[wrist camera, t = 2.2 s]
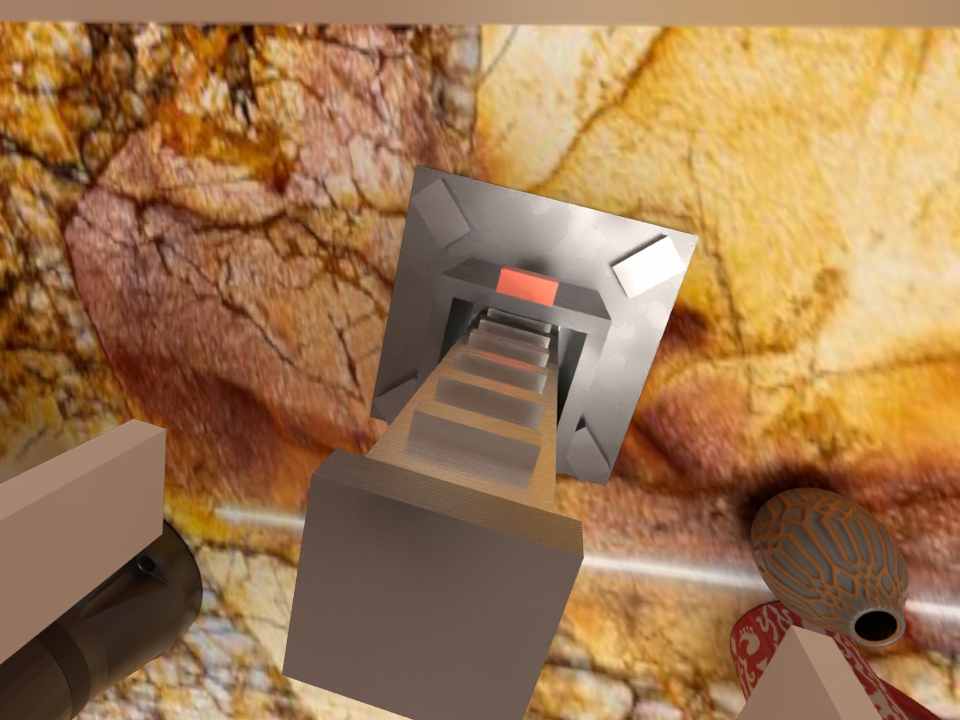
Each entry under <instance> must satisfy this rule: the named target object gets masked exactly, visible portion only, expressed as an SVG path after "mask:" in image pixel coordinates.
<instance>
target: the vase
mask: <svg viewBox="0 0 960 720" xmlns="http://www.w3.org/2000/svg"><path fill="white" fill-rule="evenodd" d="M751 548H752V553H753V557H754V560H755V563H756V565H757V568H758V570H759V572H760V574H761V576H762V578H763V580H764V581H765V583H766V584H767V586H768V587H769V589H770V590H771V591H772V592H773V594H774V595H775V596H776V597H777V598H778V599H779V600H780V601H781V602H782V603H783V604H784V605H785V606H786V607H787V608H788V609H790V610H791V611H792V612H793V613H795V614H796V615H797V616H799V617H800V618H802V619H803V620H805V621H807V622H809V623H811V624H813V625H815V626H817V627H820V628H822V629H825V630H828V631H832V632H835V633H839V634H843V635H846V636H848V637H849V638H851V639H852V640H854V641H855V642H857V643H859V644H861V645H863V646H867V647H874V648H877V647H884V646H888V645H891V644H893V643H894V642H896V641H897V640H899V639H900V638H901V636H902V635H903V633H904V631H905V619H904V615H903V609H904V606H905V602H906V598H907V593H908V582H909V581H908V572H907V568H906V564H905V561H904V559H903V556H902V554H901V552H900V550H899V548H898V546H897V544H896V542H895V540H894V539H893V537H892V536H891V535H890V533H889V532H888V531H887V529H886V528H885V527H884V526H883V525H882V524H881V523H880V522H879V521H878V520H877V519H876V518H875V517H874V516H873V515H872V514H871V513H869V512H868V511H867V510H865V509H864V508H863V507H862V506H860V505H859V504H857V503H855V502H854V501H852V500H850V499H848V498H846V497H844V496H842V495H839V494H837V493H834V492H831V491H828V490H823V489H819V488H796V489H790V490H787V491H783V492H781V493H779V494H777V495H775V496H773V497H772V498H770V499H769V500H768V501H767V502H765V503H764V504H763V506H762V507H761V508H760V509H759V511H758V512H757V514H756V516H755V518H754V520H753V523H752V529H751Z"/></svg>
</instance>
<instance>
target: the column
mask: <svg viewBox="0 0 960 720" xmlns="http://www.w3.org/2000/svg"><path fill="white" fill-rule="evenodd" d="M559 330H560V326H558V325H554V324H551V323H547V322H543V321H540V320H536V319H532V318H529V317H525V316H521V315H517V314H514V313H510V312H506V311H503V310H499V309H495V308H492V307H488V306H484V307H483V309H482V310H481V311H480V313H479V314H478V315H477V316H476V318H475V319H474V320H473V321H472V323H471V324H470V325H469V326H468V328H467V329H466V330H465V331H464V333H463V334H462V335H461V336H460V338H459V339H458V340H457V342H456V343H455V344H454V345H453V347H452V348H451V349H450V350H449V352H448V353H447V354H446V355H445V357H444V358H443V359H442V360H441V362H440V363H439V364H438V365H437V367H436V368H435V369H434V371H433V372H432V373H431V374H430V376H429V377H428V378H427V379H426V381H425V382H424V383H423V384H422V386H421V387H420V388H419V389H418V391H417V392H416V393H415V394H414V396H413V397H412V398H411V400H410V401H409V402H408V403H407V405H406V406H405V407H404V408H403V410H402V411H401V412H400V413H399V415H398V416H397V417H396V418H395V420H394V421H393V422H392V424H391V425H390V426H389V427H388V429H387V430H386V431H385V432H384V434H383V435H382V436H381V437H380V439H379V440H378V441H377V442H376V444H375V445H374V446H373V447H372V449H371V450H370V451H369V453H368V454H367V455H366V456H362V455H358V454H355V453H352V452H348V451H345V450H342V449H338V448H336V449H335V450H334V452H333V453H332V454H331V455H330V456H329V457H328V458H327V459H326V460H325V461H324V462H323V463H322V464H321V465H320V466H319V467H318V469H317V470H316V471H315V472H314V473H313V474H312V478H311V485H310V492H309V498H308V505H307V512H306V518H305V525H304V532H303V538H302V545H301V552H300V558H299V565H298V572H297V578H296V585H295V592H294V598H293V605H292V612H291V618H290V625H289V632H288V638H287V645H286V651H285V658H284V665H283V671H282V675H284V676H287V677H290V678H293V679H295V680H298V681H301V682H304V683H307V684H310V685H313V686H316V687H319V688H322V689H325V690H328V691H331V692H334V693H337V694H340V695H342V696H345V697H348V698H351V699H354V700H357V701H360V702H363V703H366V704H369V705H372V706H375V707H378V708H381V709H384V710H387V711H389V712H392V713H395V714H398V715H401V716H404V717H407V718H410V719H413V720H523V718H524V715H525V712H526V710H527V707H528V704H529V702H530V699H531V696H532V694H533V691H534V688H535V686H536V683H537V680H538V678H539V675H540V672H541V670H542V667H543V664H544V662H545V659H546V656H547V654H548V651H549V648H550V646H551V643H552V640H553V638H554V635H555V632H556V630H557V627H558V625H559V622H560V619H561V617H562V614H563V611H564V609H565V606H566V603H567V601H568V598H569V595H570V593H571V590H572V587H573V585H574V582H575V579H576V577H577V574H578V571H579V569H580V566H581V563H582V561H583V558H584V555H583V539H582V523H581V521H577V520H574V519H571V518H567V517H564V516H561V515H557V514H555V475H556V429H557V384H558V339H559Z"/></svg>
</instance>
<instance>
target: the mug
mask: <svg viewBox="0 0 960 720" xmlns="http://www.w3.org/2000/svg"><path fill="white" fill-rule="evenodd" d="M791 625H794V626H797V627H800V628H803V629H807V630H810V631H813V632H816V633H819V634H823V635H826V636H829V637H832V638H833V640H834V641H835V643H836V645H837V646H838V648H839V649H840V651H841V653H842V654H843V656H844V657H845V659H846V661H847V662H848V664H849V666H850V667H851V669H852V670H853V672H854V674H855V675H856V677H857V679H858V680H859V682H860V683H861V685H862V687H863V688H864V690H865V692H866V693H867V695H868V696H869V698H870V700H871V701H872V703H873V704H874V706H875V708H876V709H877V711H878V713H879V714H880V716H881V717H882V719H883V720H942V719H941V718H939V717H938V716H936V715H935V714H934V713H932V712H931V711H929V710H928V709H926V708H925V707H924V706H922V705H921V704H919V703H918V702H916V701H915V700H913V699H912V698H910V697H909V696H907V695H906V694H904V693H903V692H901V691H900V690H898V689H896V688H895V687H893V686H892V685H890V684H888V683H887V682H885V681H884V680H882V679H880V678H878V677H877V676H876V674H875V673H874V671H873V670H872V669H871V667H870V666H869V665H868V663H867V662H866V661H865V659H864V658H863V657H862V655H861V654H860V653H859V651H858V650H857V648H856V647H855V645H854V644H853V643H852V641H851V640H850V638H849V637H848V636H846V635H843V634H839V633H835V632H832V631H828V630H825V629H822V628H820V627H817V626H815V625H813V624H811V623H809V622H807V621H805V620H803V619H802V618H800V617H799V616H797V615H796V614H795V613H793V612H792V611H791V610H790V609H788V608H787V607H786V606H785V605H784V604H783V603H782V602H776V603H771V604H767V605H763V606H761V607H758V608H756V609H754V610H752V611H751V612H749V613H748V614H746V615H745V616H744V617H743V618H742V619H741V620H740V621H739V622H738V623H737V625H736V626H735V628H734V630H733V632H732V635H731V641H730V648H731V654H732V657H733V661H734V664H735V667H736V671H737V674H738V677H739V680H740V683H741V686H742V690H743V693H744V697H745V700H746V702H747V700H748V699H749V697H750V695H751V693H752V692H753V690H754V688H755V687H756V685H757V683H758V681H759V680H760V678H761V676H762V674H763V673H764V671H765V669H766V667H767V666H768V664H769V662H770V661H771V659H772V657H773V655H774V654H775V652H776V650H777V648H778V647H779V645H780V643H781V641H782V640H783V638H784V636H785V635H786V633H787V631H788V629H789V628H790V626H791Z"/></svg>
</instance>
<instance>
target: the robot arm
mask: <svg viewBox="0 0 960 720" xmlns="http://www.w3.org/2000/svg"><path fill="white" fill-rule="evenodd" d="M165 447H166V429H165V428H161V427H158V426H155V425H152V424H149V423H145V422H142V421H139V420H136V419H132V420H130V421H128V422H126V423H124V424H122V425H120V426H118V427H116V428H114V429H112V430H110V431H108V432H106V433H104V434H101V435H99V436H97V437H95V438H93V439H91V440H89V441H87V442H85V443H83V444H81V445H79V446H77V447H75V448H73V449H71V450H69V451H67V452H64V453H62V454H60V455H58V456H56V457H54V458H52V459H50V460H48V461H46V462H44V463H42V464H40V465H38V466H36V467H34V468H32V469H30V470H28V471H25V472H23V473H21V474H19V475H17V476H15V477H13V478H11V479H9V480H7V481H5V482H3V483H1V484H0V720H72V719H73V718H74V717H75V716H76V715H77V714H78V713H79V712H80V711H81V710H82V709H83V708H84V707H85V706H86V705H87V704H88V703H89V702H90V701H91V700H92V699H94V698H95V697H97V696H98V695H100V694H101V693H103V692H104V691H106V690H108V689H109V688H111V687H112V686H114V685H115V684H117V683H119V682H120V681H122V680H123V679H125V678H126V677H128V676H129V675H131V674H132V673H134V672H135V671H137V670H138V669H140V668H141V667H143V666H144V665H146V664H147V663H149V662H150V661H152V660H154V659H156V658H158V657H159V656H161V655H162V654H164V653H165V652H166V651H168V650H169V649H170V648H171V647H172V646H173V645H174V644H175V643H176V642H177V641H178V639H179V638H180V637H181V636H182V635H183V634H184V633H185V632H186V631H187V629H188V628H189V627H190V626H191V625H192V623H193V622H194V620H195V619H196V617H197V615H198V612H199V609H200V605H201V583H200V578H199V574H198V571H197V568H196V565H195V563H194V561H193V559H192V557H191V555H190V553H189V551H188V550H187V548H186V547H185V545H184V544H183V542H182V541H181V540H180V538H179V537H178V536H177V535H176V534H175V532H174V531H173V530H172V529H171V528H170V527H169V526H168V525H167V524H166V523H165V522H163V503H164V475H165ZM736 720H883V719H882V717H881V716H880V714H879V713H878V711H877V709H876V708H875V706H874V704H873V703H872V701H871V700H870V698H869V696H868V695H867V693H866V692H865V690H864V688H863V687H862V685H861V683H860V682H859V680H858V679H857V677H856V675H855V674H854V672H853V670H852V669H851V667H850V666H849V664H848V662H847V661H846V659H845V657H844V656H843V654H842V653H841V651H840V649H839V648H838V646H837V645H836V643H835V641H834V640H833V638H832V637H829V636H826V635H823V634H819V633H816V632H813V631H810V630H807V629H803V628H800V627H797V626H794V625H791V626H790V628H789V629H788V631H787V633H786V635H785V636H784V638H783V640H782V641H781V643H780V645H779V647H778V648H777V650H776V652H775V654H774V655H773V657H772V659H771V661H770V662H769V664H768V666H767V667H766V669H765V671H764V673H763V674H762V676H761V678H760V680H759V681H758V683H757V685H756V687H755V688H754V690H753V692H752V693H751V695H750V697H749V699H748V700H747V702H746V704H745V706H744V707H743V709H742V711H741V713H740V714H739V716H738V718H737V719H736Z"/></svg>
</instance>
